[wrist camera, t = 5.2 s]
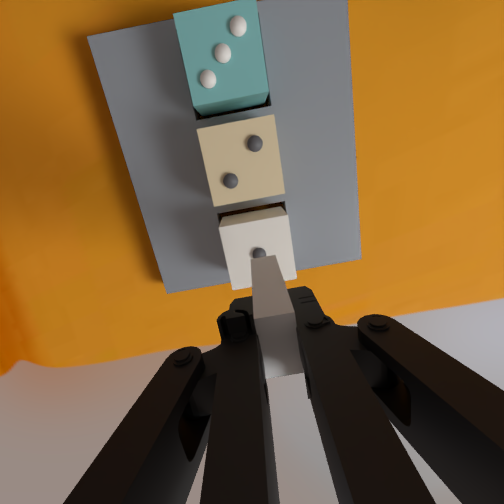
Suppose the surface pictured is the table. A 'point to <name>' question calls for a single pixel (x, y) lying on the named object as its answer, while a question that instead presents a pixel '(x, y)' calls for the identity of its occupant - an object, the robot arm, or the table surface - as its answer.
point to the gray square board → (279, 103)
